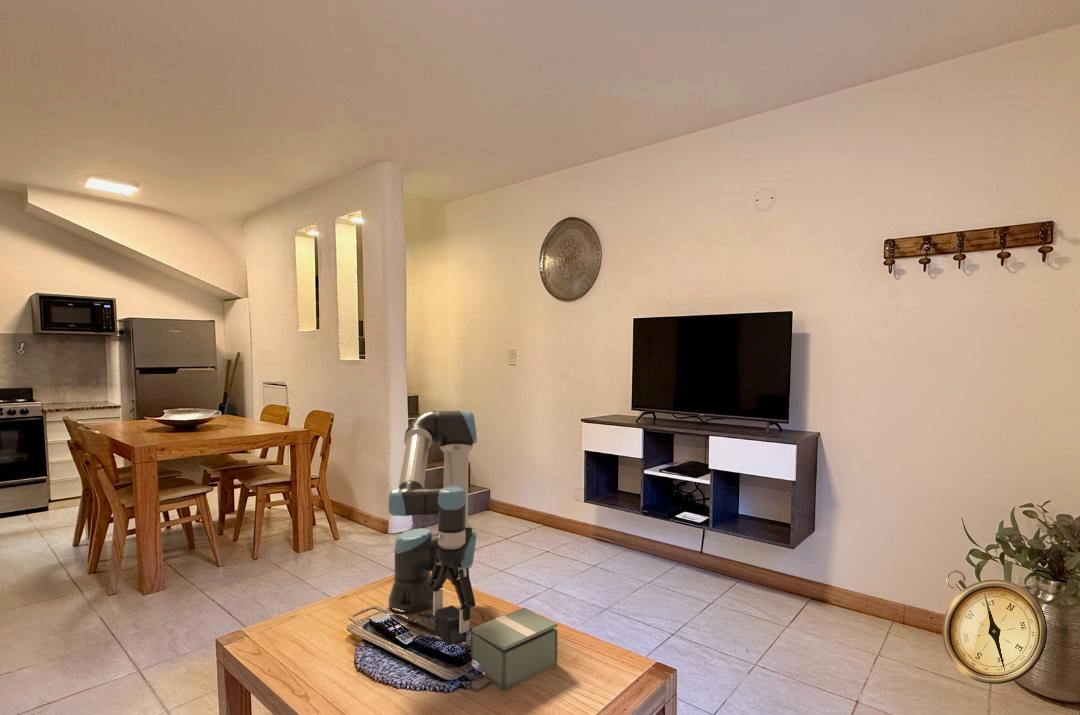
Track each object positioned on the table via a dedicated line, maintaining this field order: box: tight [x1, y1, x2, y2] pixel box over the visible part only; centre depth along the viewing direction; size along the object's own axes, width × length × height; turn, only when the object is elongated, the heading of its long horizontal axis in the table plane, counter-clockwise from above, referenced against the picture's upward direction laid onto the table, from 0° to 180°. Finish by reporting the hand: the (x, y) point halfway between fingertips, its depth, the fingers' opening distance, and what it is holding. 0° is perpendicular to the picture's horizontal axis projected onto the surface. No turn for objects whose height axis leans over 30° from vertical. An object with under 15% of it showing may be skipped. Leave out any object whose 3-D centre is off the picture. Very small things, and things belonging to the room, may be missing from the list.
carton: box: [470, 628, 558, 692], centre depth 139 cm, size 14×18×9 cm
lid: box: [471, 607, 558, 650], centre depth 139 cm, size 14×18×1 cm
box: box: [434, 605, 467, 645], centre depth 146 cm, size 8×6×11 cm
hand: (450, 622), depth 145 cm, fingers open, 13 cm apart
